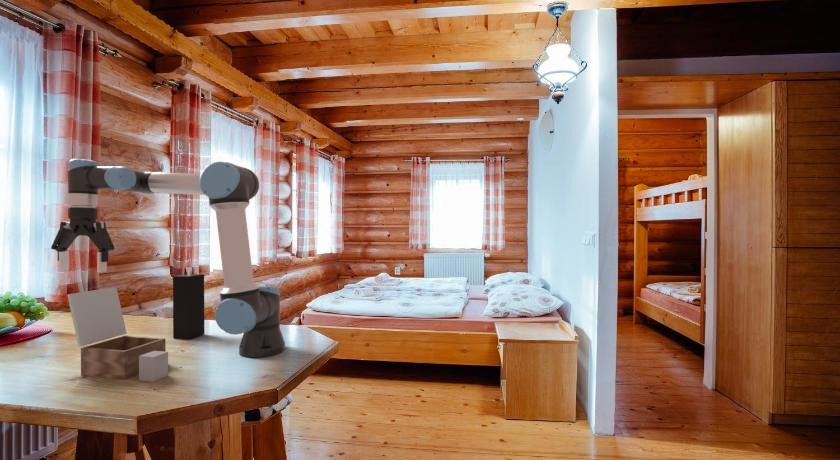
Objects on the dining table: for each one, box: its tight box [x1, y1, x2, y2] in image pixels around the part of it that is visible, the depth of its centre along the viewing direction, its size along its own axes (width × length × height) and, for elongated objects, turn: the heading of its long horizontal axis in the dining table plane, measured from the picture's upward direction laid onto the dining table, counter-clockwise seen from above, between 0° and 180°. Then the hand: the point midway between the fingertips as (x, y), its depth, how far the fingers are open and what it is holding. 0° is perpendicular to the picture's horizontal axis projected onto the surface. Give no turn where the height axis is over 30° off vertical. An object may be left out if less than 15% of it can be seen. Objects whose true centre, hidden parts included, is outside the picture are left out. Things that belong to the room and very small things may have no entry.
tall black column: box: [172, 266, 205, 340], centre depth 159 cm, size 8×8×28 cm
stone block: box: [138, 351, 169, 383], centre depth 116 cm, size 5×5×7 cm
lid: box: [67, 286, 128, 348], centre depth 125 cm, size 16×14×1 cm
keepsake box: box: [80, 335, 167, 380], centre depth 123 cm, size 16×14×8 cm
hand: (82, 271), depth 130 cm, fingers open, 13 cm apart
